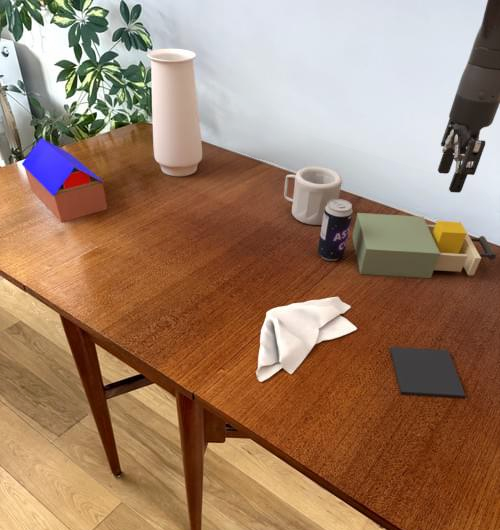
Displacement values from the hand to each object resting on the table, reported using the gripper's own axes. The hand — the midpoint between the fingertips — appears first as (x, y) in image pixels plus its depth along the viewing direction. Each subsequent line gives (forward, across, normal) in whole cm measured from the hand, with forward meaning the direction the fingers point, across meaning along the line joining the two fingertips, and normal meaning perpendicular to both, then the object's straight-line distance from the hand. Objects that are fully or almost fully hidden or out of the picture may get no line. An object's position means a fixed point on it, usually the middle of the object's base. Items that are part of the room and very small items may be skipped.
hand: (448, 181), depth 92 cm
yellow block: (+14, -3, -3) cm, 15 cm away
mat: (+16, -37, +8) cm, 41 cm away
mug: (+16, +14, +25) cm, 33 cm away
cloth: (+16, -29, +29) cm, 44 cm away
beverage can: (+16, -4, +21) cm, 27 cm away
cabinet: (+16, -3, +8) cm, 18 cm away
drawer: (+15, -3, -3) cm, 16 cm away
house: (+16, +14, +84) cm, 87 cm away
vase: (+16, +35, +60) cm, 72 cm away
